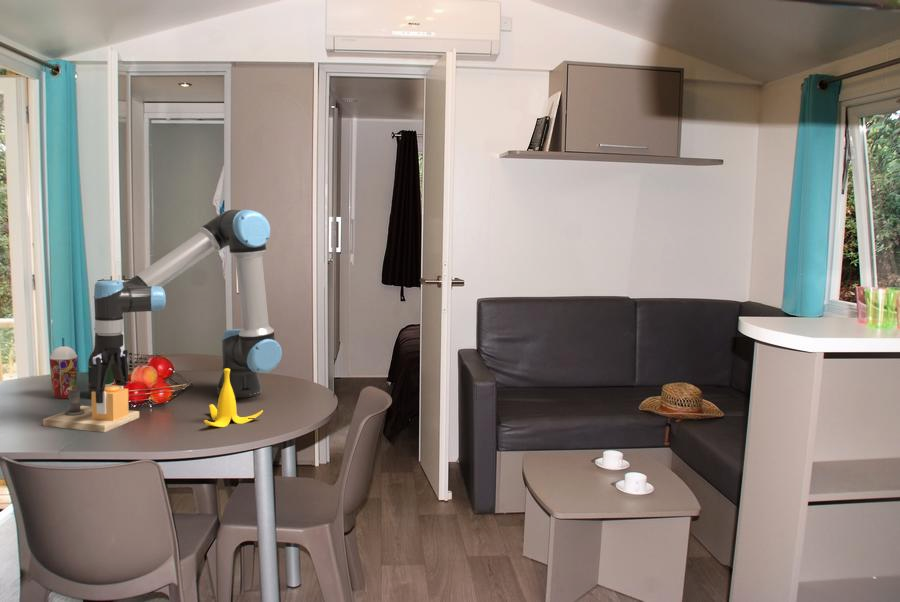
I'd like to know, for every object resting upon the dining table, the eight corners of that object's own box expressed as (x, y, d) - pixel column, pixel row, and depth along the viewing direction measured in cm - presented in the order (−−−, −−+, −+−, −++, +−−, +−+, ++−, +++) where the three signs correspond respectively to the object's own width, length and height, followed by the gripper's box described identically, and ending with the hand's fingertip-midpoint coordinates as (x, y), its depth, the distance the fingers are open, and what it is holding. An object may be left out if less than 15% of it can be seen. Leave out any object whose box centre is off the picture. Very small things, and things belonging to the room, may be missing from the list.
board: (139, 417, 218) (139, 388, 217) (104, 432, 203) (104, 401, 202) (81, 411, 222) (81, 383, 221) (43, 425, 206) (42, 395, 205)
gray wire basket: (88, 378, 267) (88, 352, 266) (104, 371, 279) (104, 346, 278) (158, 381, 266) (157, 355, 265) (171, 375, 277) (171, 350, 276)
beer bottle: (90, 394, 243) (88, 325, 240) (115, 393, 246) (114, 324, 243) (87, 400, 236) (86, 328, 233) (113, 399, 239) (112, 328, 236)
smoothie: (77, 399, 237) (75, 339, 235) (48, 400, 234) (47, 340, 231) (79, 393, 244) (78, 335, 242) (52, 394, 241) (50, 336, 239)
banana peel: (211, 414, 226) (211, 362, 224) (264, 421, 221) (265, 367, 219) (177, 428, 210) (177, 372, 208) (234, 435, 205) (234, 378, 203)
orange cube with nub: (128, 414, 214) (128, 385, 213) (113, 421, 207) (112, 390, 206) (107, 412, 215) (107, 383, 214) (91, 418, 208) (91, 388, 207)
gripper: (119, 328, 219) (120, 401, 221) (73, 337, 199) (75, 417, 202) (141, 329, 217) (142, 403, 220) (97, 339, 198) (98, 420, 200)
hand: (110, 410), depth 211 cm, fingers closed on orange cube with nub, 7 cm apart
